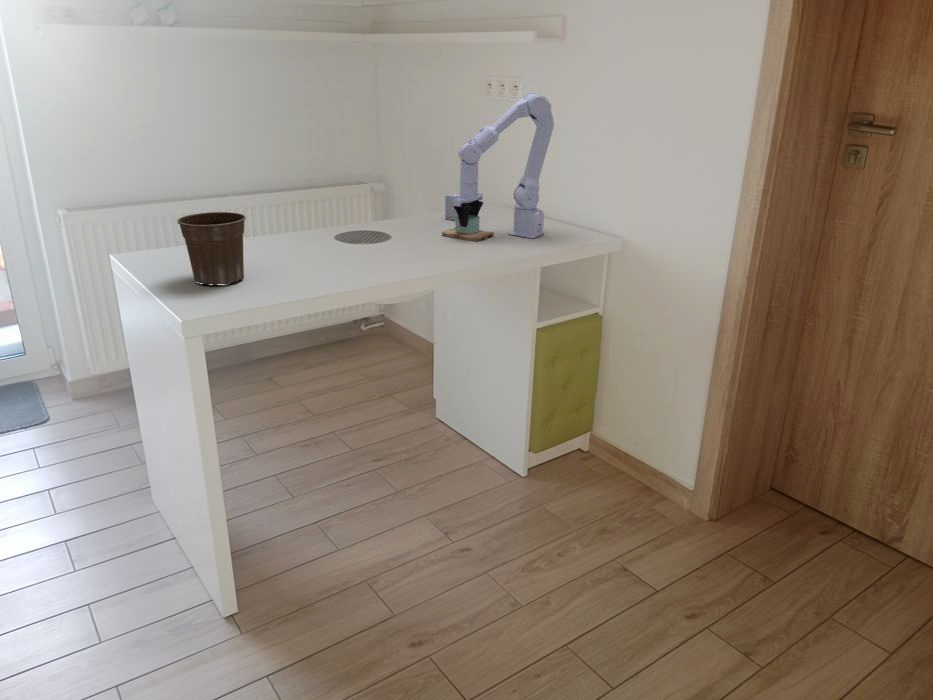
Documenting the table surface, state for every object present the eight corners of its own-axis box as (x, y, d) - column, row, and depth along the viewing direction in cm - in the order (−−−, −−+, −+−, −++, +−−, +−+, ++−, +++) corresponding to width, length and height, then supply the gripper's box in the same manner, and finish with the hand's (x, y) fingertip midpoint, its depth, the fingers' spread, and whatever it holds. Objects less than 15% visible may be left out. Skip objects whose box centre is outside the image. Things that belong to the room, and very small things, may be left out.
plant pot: (177, 277, 185) (168, 215, 178) (237, 267, 194) (231, 208, 188) (198, 293, 173) (189, 228, 167) (261, 282, 182) (255, 219, 176)
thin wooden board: (494, 235, 234) (494, 232, 233) (478, 241, 226) (478, 238, 225) (457, 230, 240) (458, 226, 240) (441, 235, 232) (441, 232, 232)
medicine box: (470, 220, 255) (470, 195, 252) (463, 222, 252) (463, 197, 249) (451, 217, 259) (452, 193, 256) (444, 219, 256) (445, 195, 252)
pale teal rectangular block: (479, 231, 233) (479, 216, 231) (471, 234, 229) (471, 219, 227) (463, 229, 236) (463, 214, 234) (455, 231, 232) (455, 216, 230)
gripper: (470, 178, 234) (469, 219, 239) (446, 184, 223) (445, 227, 228) (488, 180, 231) (487, 222, 236) (465, 186, 219) (464, 230, 224)
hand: (468, 225), depth 232 cm, fingers closed on pale teal rectangular block, 5 cm apart
